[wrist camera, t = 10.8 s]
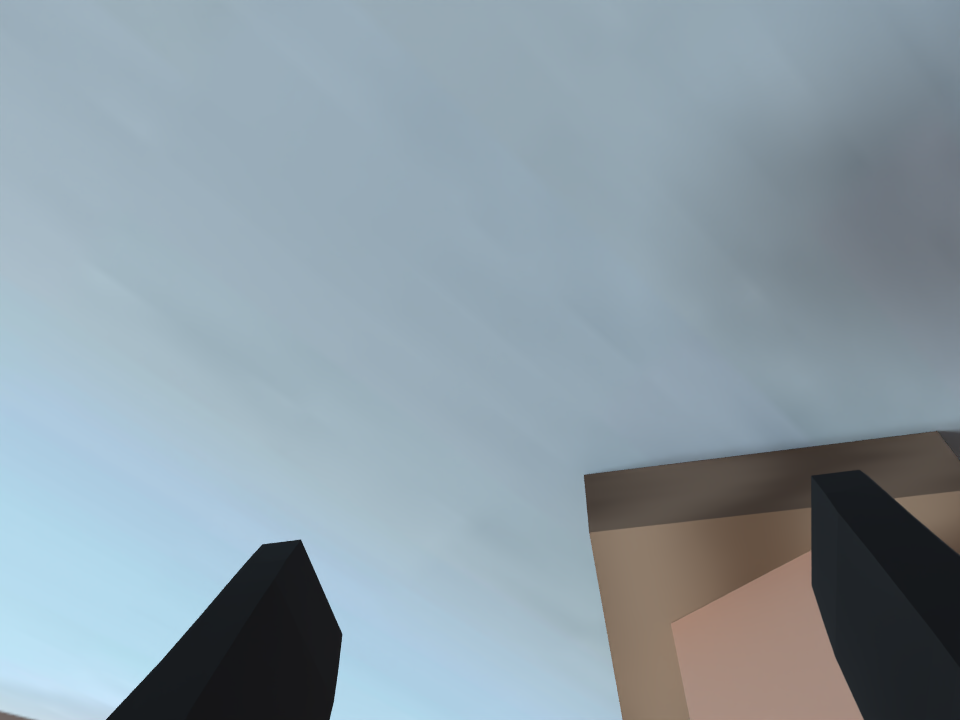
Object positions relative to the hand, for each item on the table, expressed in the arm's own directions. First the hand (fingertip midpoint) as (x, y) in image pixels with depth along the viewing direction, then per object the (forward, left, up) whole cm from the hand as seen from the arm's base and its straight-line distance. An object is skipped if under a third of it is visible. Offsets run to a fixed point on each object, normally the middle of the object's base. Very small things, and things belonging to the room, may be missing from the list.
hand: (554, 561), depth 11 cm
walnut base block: (-5, +12, -11) cm, 17 cm away
